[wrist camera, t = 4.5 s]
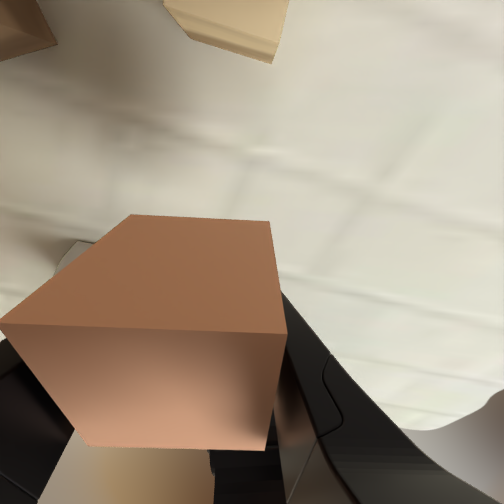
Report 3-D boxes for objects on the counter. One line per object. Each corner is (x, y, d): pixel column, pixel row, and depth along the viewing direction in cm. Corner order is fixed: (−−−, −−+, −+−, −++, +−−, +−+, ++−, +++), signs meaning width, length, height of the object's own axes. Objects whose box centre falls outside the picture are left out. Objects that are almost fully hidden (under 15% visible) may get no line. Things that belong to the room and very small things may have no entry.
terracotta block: (259, 318, 11) (264, 450, 7) (154, 314, 11) (88, 446, 6) (269, 221, 8) (287, 333, 4) (130, 214, 8) (-4, 322, 4)
